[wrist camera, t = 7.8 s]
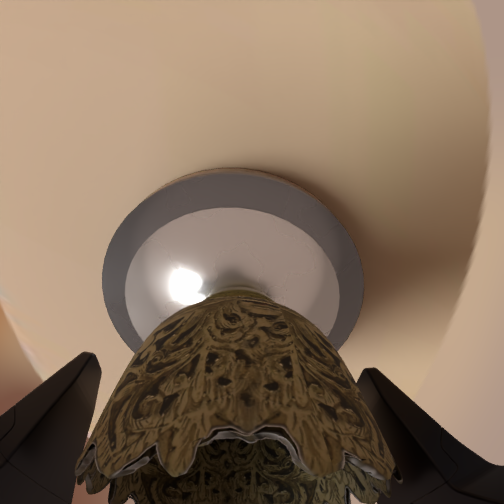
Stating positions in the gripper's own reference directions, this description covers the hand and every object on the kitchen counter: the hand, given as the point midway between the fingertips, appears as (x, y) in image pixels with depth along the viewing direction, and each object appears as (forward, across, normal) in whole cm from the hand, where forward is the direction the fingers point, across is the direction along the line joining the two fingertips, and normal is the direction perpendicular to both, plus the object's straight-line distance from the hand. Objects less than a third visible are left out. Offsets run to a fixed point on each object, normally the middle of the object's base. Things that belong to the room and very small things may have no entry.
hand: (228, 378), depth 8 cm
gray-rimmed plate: (+5, 0, 0) cm, 5 cm away
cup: (+3, 0, 0) cm, 3 cm away
